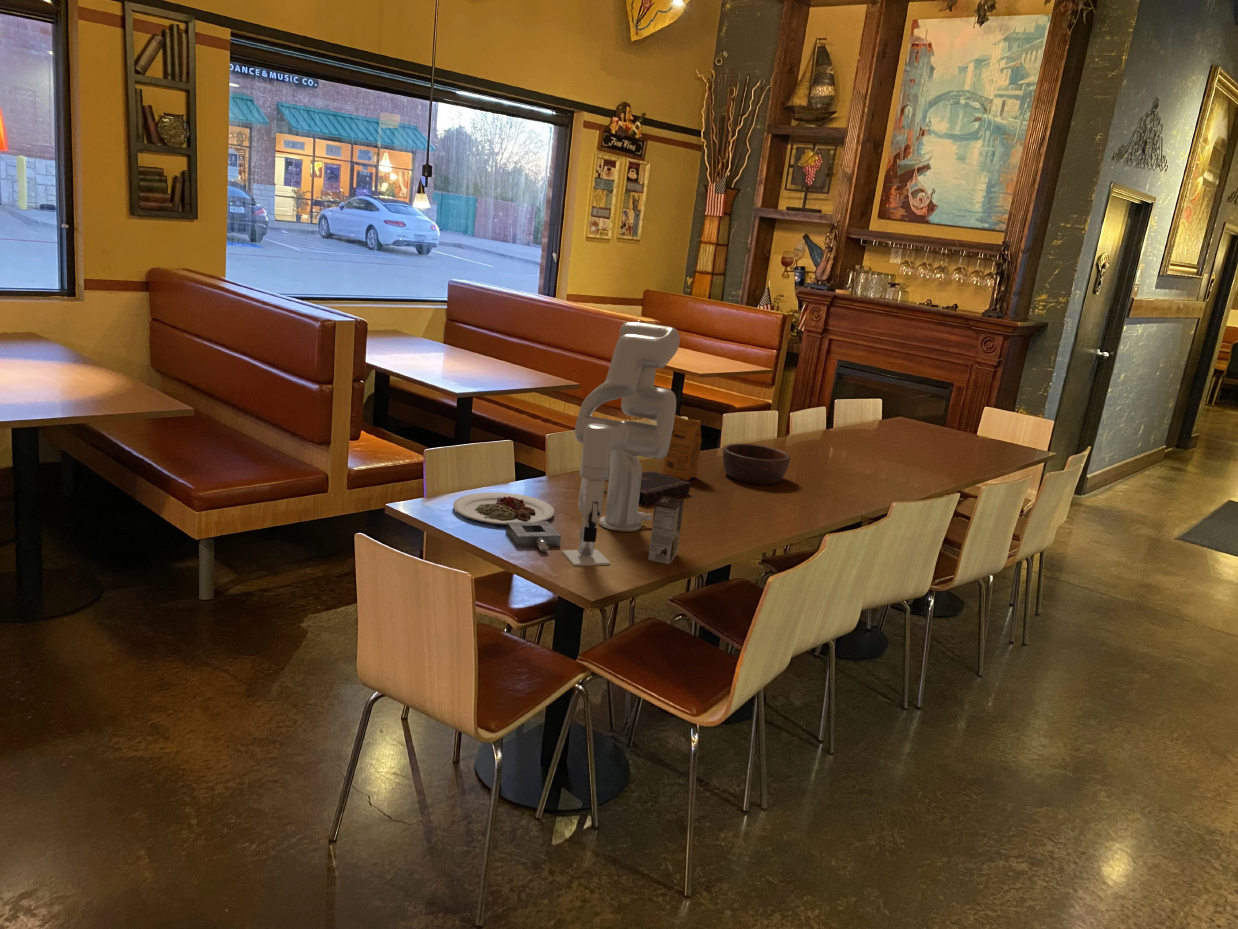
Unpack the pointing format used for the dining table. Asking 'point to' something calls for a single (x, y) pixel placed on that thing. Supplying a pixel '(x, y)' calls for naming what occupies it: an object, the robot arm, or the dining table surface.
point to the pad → (585, 558)
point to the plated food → (503, 508)
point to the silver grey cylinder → (585, 547)
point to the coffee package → (683, 449)
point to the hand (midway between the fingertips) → (587, 537)
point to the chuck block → (533, 534)
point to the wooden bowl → (755, 463)
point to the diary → (660, 487)
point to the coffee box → (666, 529)
